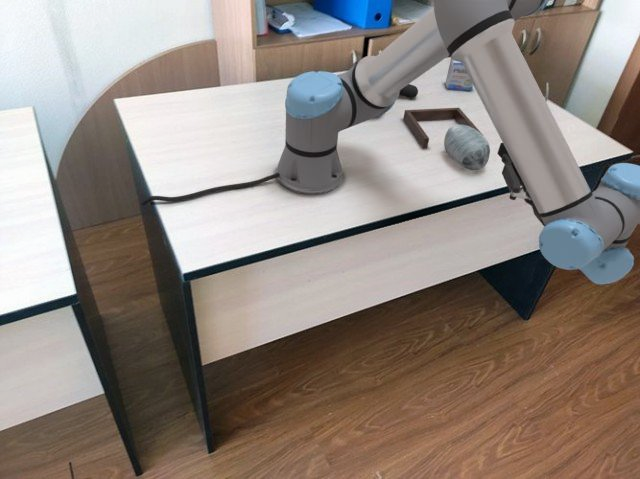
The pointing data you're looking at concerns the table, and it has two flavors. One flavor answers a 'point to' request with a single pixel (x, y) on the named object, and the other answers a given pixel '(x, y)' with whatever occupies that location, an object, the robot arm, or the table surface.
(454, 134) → the grey marbled egg
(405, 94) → the gaming controller
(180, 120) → the table surface
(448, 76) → the medicine box
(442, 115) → the dock
